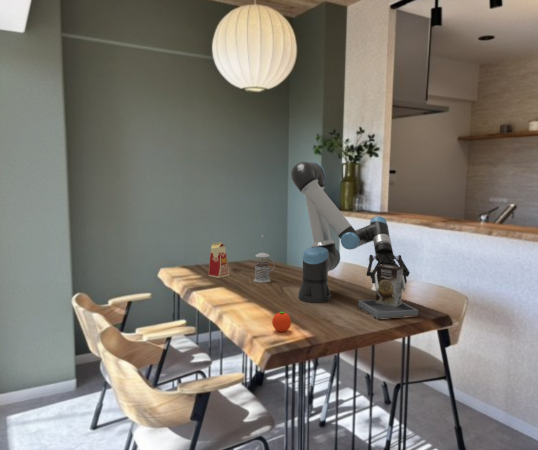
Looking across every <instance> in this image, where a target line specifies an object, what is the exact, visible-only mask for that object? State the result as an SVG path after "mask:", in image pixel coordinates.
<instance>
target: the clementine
mask: <svg viewBox="0 0 538 450" xmlns="http://www.w3.org/2000/svg"><path fill="white" fill-rule="evenodd" d="M271 321H272V323H271V324H272V327H273V328H274V330H275V331H277V332H279V333H280V332H281V333H282V332H283V333H284V332H286V331H288V330H289V329H290V328H291V325H292V319H291V317H290V316H289V314H288V313H286V312H284V311H279V312H277V313H275V315H274V316H273V317H272V320H271Z"/></svg>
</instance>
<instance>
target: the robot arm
mask: <svg viewBox="0 0 538 450" xmlns="http://www.w3.org/2000/svg"><path fill="white" fill-rule="evenodd" d="M290 172H291V173H290V176H291V180H292V182H293V184H294V185H295V187H296V188H297V189H298V190H299V192H300V193H301V194H302V195H305V202H306V207H307V213H308V217H309V223H310V230H311V235H312V239H313V243H312V244H311V246H310V247H308V248H306V249H305V250H304V251H303V252H302V253H303V254H302V281H301V285H300V286H299V287H300V288H299V291H298V299H299V300H300V301H303V302H305V303H316V304H317V303H327V302H330V301H331V299H332V298H331V297H332V294H331V290H330V286H329V283H328V279H329V278H328V277H329V274H328V272H330V271H333V270H335V268H337V266H338V265H339V264H340V261H341V254H340V251H339V250H338V249H337V247H336V242H335V241H334V240H332V237H331V231H330V227H331V229H332V230H333V231H334V233H335V234H336V235H337V236H338V238H339V239H340V244H341V246H342V247H343V249H346V250H355V249H357V248H359V247H361V246H363V245H365V244H369V243H371V242H373V247H374V253H375V255H372V254H370V255H369V257H368V267H367V271H366V274H365V275H366V277H370V279H371V283H372V284H374V290H375V292H376V291H378V289H379V286H378V280H377V266H378V265H383V264H386V265H393V266H399V267H403V278H402V293H403V292H404V293H405V292H406V289H407V286H406V284H407V281H408V280H407V278H408V277H409V275H410V270H409V268H408V267H407V266H406V264H405V262H404V261H403V259H402V255H401V254H399V255H395V254H394V250H393V245H392V241H391V237H390V231H389V226H388V222H387V219H386V218H385V217H383V216H373V217H372V218H371V219H370V222H369V224H368V225H366V226H363V227H361V228H358V229H355V228H354V227H353V226H352V224H351V223H350V222H349V221H348V219H347V218H346V216H344V214H343V213H342V212H341V210H340V209H339V208H338V207H337V206H336V204H335V203H334V202H333V201H332V200H331V198H330V197H329V196H328V195H327V192H325V191H324V189H326V188H325V187H326V186H325V180H326V171H325V169H324V168H323V166H322V165H320V164H319V163H317V162H307V161H300V162H298V163H296V164H294V166H293V167H292V169H291V171H290ZM375 260H376V262H377V263H376V265H375V267H374V269H372V266H373V263H374V261H375Z"/></svg>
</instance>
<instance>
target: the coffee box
mask: <svg viewBox="0 0 538 450" xmlns="http://www.w3.org/2000/svg"><path fill="white" fill-rule="evenodd" d="M376 274H377V280H378V286H379V289H378V291H376V290H375V299H376V303H378V304H383V305H387V306H392V307H396V306H399V305H401V302H402V297H403V296H402V295H403V290H402V278H403V267H400V266H399V265H398V266H393V265H386V264H383V265H378V266H377V272H376Z"/></svg>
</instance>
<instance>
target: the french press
mask: <svg viewBox="0 0 538 450" xmlns="http://www.w3.org/2000/svg"><path fill="white" fill-rule="evenodd" d="M260 238H261V239H264V238H265V236H264V235H261V236H260ZM261 243H262V247H261V249H262V252H259V253H257V254H255V255H254V256H255V257H256V258H259V259H261V261H257V262H255V265H254V270H255V271H254V273H255V274H254V279H253V282H255V283H270V282H271V281H272V280H271V279H270V273H271V272H273V270H274V269H275V267H276V266H275V265H276V264H275V261H274V259H272V258H271V257H270V254H268V253H266V252H264V247H263V246H264V240H262V242H261ZM264 258H265V259H266V258H267V259H269V260H268V261H269V262H270V261H272V262H273V268H272V269H270V265H269V264H270V263H269V262H268V261H263V259H264Z"/></svg>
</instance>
